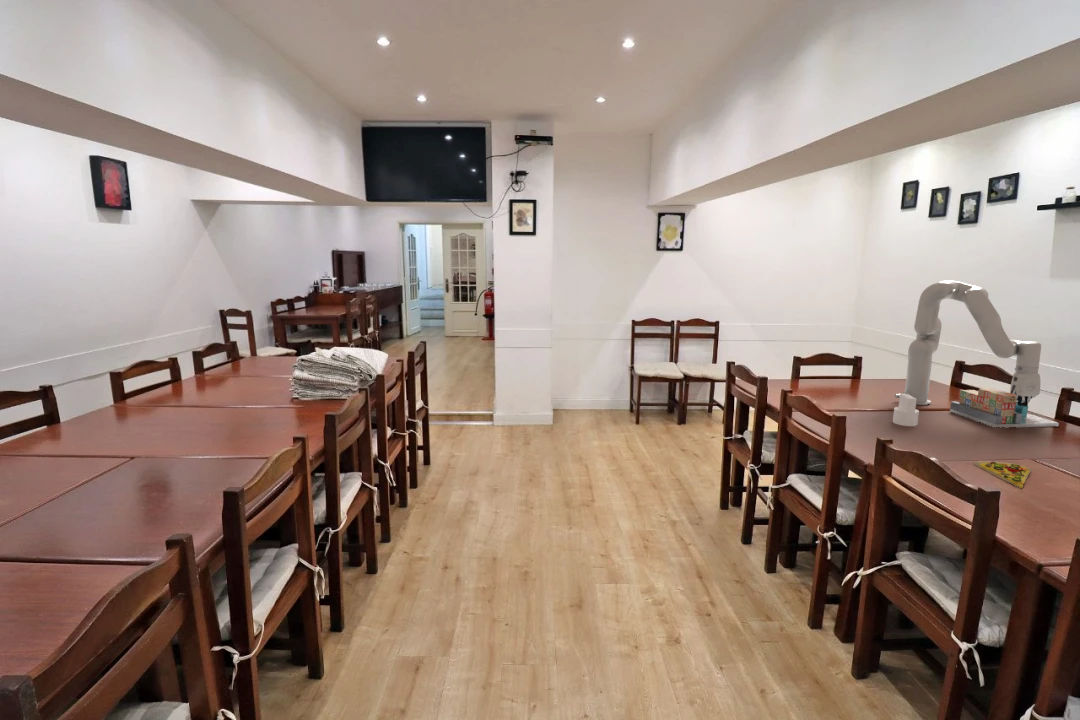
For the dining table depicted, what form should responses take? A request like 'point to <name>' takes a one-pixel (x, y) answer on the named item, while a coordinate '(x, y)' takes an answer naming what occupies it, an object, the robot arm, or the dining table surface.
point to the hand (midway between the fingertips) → (1021, 410)
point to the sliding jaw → (1020, 413)
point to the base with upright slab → (906, 411)
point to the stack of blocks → (991, 402)
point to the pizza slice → (1006, 471)
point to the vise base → (1023, 421)
